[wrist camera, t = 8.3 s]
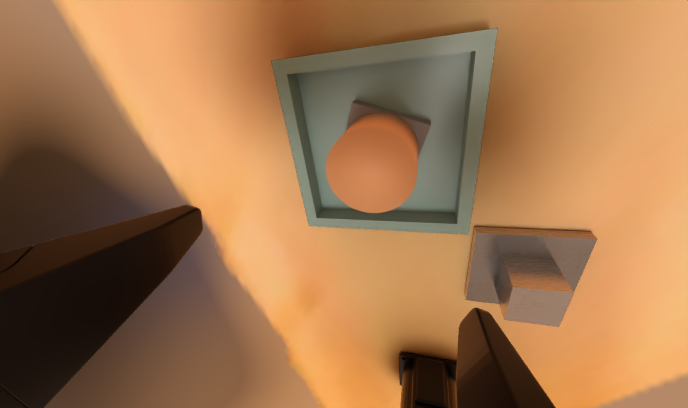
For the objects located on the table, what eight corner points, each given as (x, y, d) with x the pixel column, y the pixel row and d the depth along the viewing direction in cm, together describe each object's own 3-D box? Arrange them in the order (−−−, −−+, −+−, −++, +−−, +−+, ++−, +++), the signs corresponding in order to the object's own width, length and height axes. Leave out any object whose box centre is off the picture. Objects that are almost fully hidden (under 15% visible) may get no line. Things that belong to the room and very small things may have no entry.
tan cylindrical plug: (430, 121, 16) (432, 145, 12) (404, 187, 19) (398, 223, 15) (355, 99, 16) (335, 116, 13) (340, 167, 19) (319, 197, 15)
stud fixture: (560, 303, 21) (584, 349, 18) (464, 292, 23) (470, 332, 20) (590, 231, 17) (626, 273, 14) (474, 226, 19) (483, 261, 16)
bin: (465, 218, 19) (468, 234, 18) (317, 212, 23) (308, 225, 21) (488, 29, 14) (497, 28, 12) (286, 58, 17) (270, 60, 15)
